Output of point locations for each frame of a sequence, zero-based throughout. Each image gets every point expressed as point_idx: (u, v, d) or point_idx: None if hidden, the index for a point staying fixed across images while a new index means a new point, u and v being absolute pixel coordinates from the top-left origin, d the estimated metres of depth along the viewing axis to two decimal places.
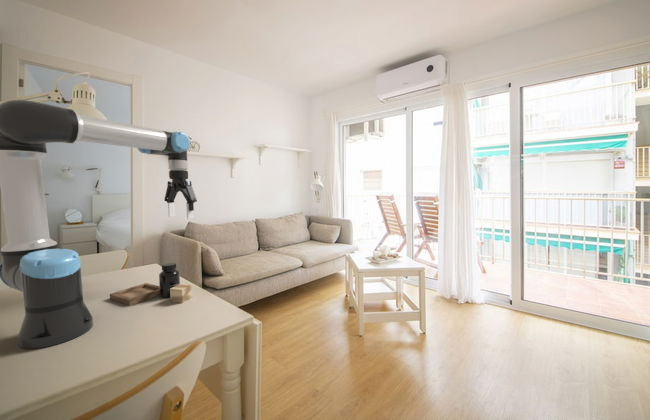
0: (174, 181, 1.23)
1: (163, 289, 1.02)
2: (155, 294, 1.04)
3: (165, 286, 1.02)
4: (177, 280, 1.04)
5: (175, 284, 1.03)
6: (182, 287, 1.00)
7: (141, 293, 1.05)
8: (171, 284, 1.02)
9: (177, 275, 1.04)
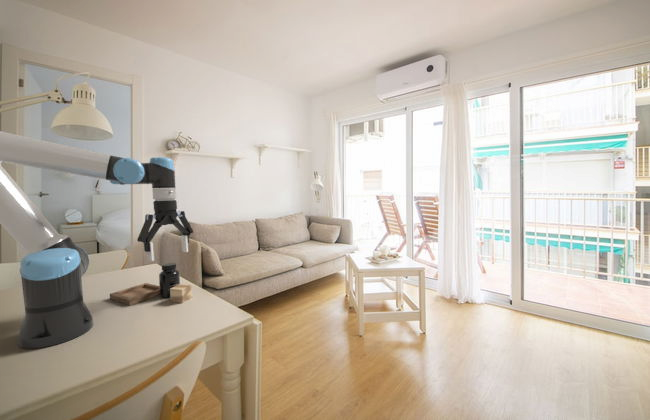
0: None
1: (163, 289, 1.02)
2: (155, 294, 1.04)
3: (165, 286, 1.02)
4: (177, 280, 1.04)
5: (175, 284, 1.03)
6: (182, 287, 1.00)
7: (141, 293, 1.05)
8: (171, 284, 1.02)
9: (177, 275, 1.04)
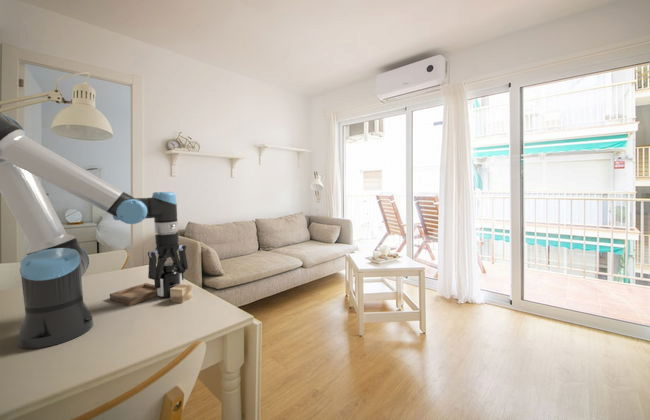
0: None
1: None
2: (155, 294, 1.04)
3: (165, 286, 1.02)
4: (177, 280, 1.04)
5: (175, 284, 1.03)
6: (182, 287, 1.00)
7: (141, 293, 1.05)
8: (171, 284, 1.02)
9: (177, 275, 1.04)
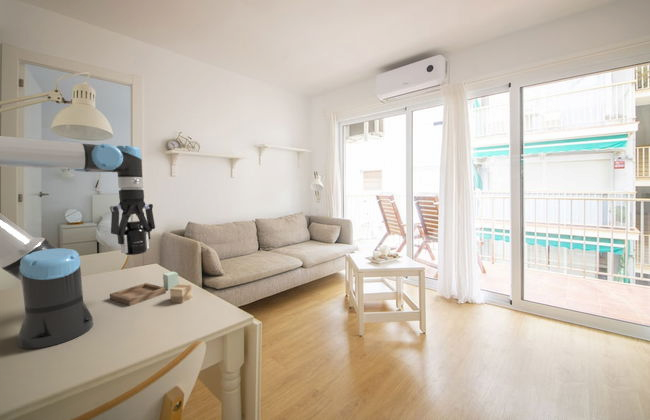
0: None
1: (127, 245, 0.99)
2: (155, 294, 1.04)
3: (129, 242, 0.99)
4: (142, 237, 1.02)
5: (140, 241, 1.01)
6: (182, 287, 1.00)
7: (141, 293, 1.05)
8: (135, 241, 1.00)
9: (142, 232, 1.02)
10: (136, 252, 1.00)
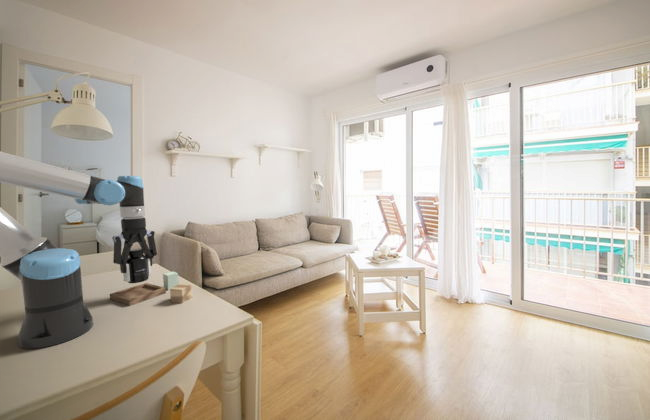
0: None
1: None
2: (155, 294, 1.04)
3: (132, 271, 1.00)
4: (144, 265, 1.03)
5: (142, 269, 1.02)
6: (182, 287, 1.00)
7: (141, 293, 1.05)
8: (137, 269, 1.01)
9: (144, 260, 1.03)
10: (138, 280, 1.01)
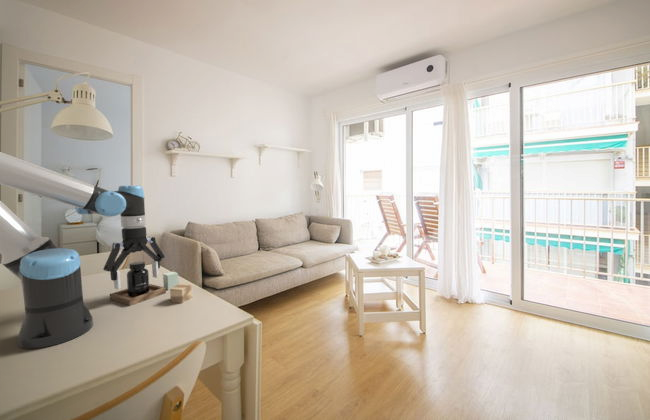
0: None
1: (130, 288, 1.01)
2: (155, 294, 1.04)
3: (133, 285, 1.01)
4: (145, 279, 1.03)
5: (143, 283, 1.02)
6: (182, 287, 1.00)
7: None
8: (138, 283, 1.01)
9: (145, 274, 1.03)
10: (139, 294, 1.02)
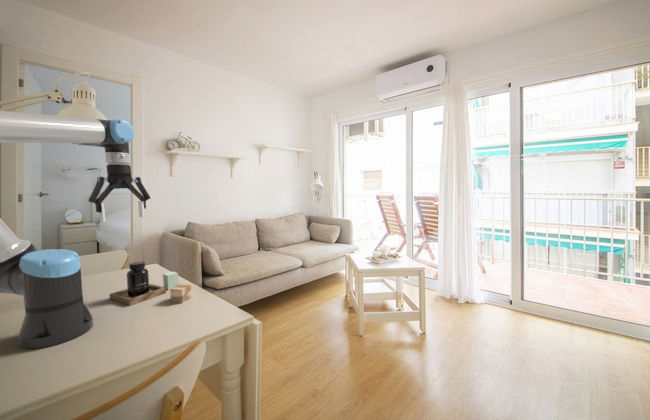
0: None
1: (130, 288, 1.01)
2: (155, 294, 1.04)
3: (133, 285, 1.01)
4: (145, 279, 1.03)
5: (143, 283, 1.02)
6: (182, 287, 1.00)
7: None
8: (138, 283, 1.01)
9: (145, 274, 1.03)
10: (139, 294, 1.02)
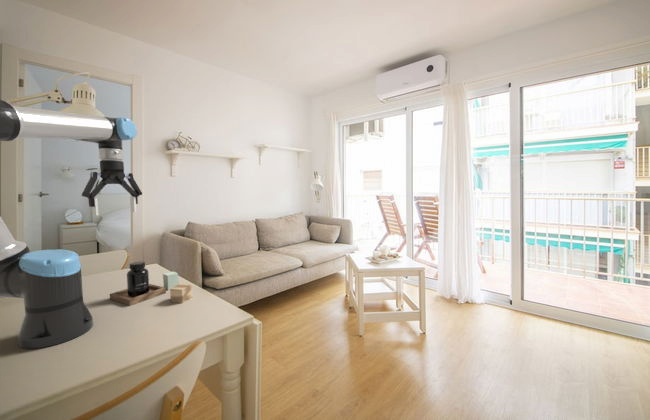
0: None
1: (130, 288, 1.01)
2: (155, 294, 1.04)
3: (133, 285, 1.01)
4: (145, 279, 1.03)
5: (143, 283, 1.02)
6: (182, 287, 1.00)
7: None
8: (138, 283, 1.01)
9: (145, 274, 1.03)
10: (139, 294, 1.02)
